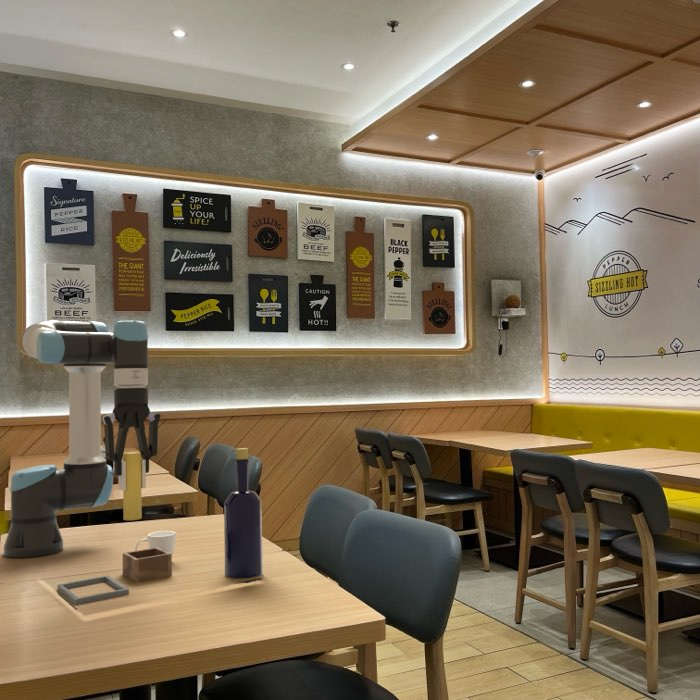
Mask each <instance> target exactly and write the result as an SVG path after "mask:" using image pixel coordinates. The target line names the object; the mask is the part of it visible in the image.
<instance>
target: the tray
mask: <svg viewBox="0 0 700 700" xmlns="http://www.w3.org/2000/svg"><path fill="white" fill-rule="evenodd" d="M99 583H106V584H108V585H110V586H112V587H113V588H114V589H116V590H112V591H107V592H102V593H96V594H91V595H86V596H81V597H78V596H77V595H75V594H74V593H73V592H72V591H71V590H70V589H72V588H77V587H79V588H80V587H84V586H87V585H88V586H89V585H93V584H99ZM56 587H57V590H58V591H59V592H60V593H59V592H57V595H58V596H59V597H61V598H62V599H63V600H64V601H65V602H66V603H68V605H69V606H71V607H72V608H73V609H74V610H78V608H77V607H75V606H76V605H81V604H86V603H90V602H91V603H93V602H96V601H97V602H98V601H102V600H107V599H111V598H112V599H113V598H116V597H122V596H126V595H129V594H130V589H129V588H127V587H126V586H125V585H124V584H122V583H120V582H119V581H117V580H115V579H114V578H112V577H111V576H109V575H105V576H104V575H103V576H98V577H93V578H92V577H91V578H87V579H82V580H77V581H71V582H66V583H65V582H64V583H59V584H57V586H56ZM65 597H66V598H67V599H68V600H67V599H66V598H65ZM69 601H70V602H69ZM71 602H72V603H73V604H74V605H75V606H74V605H73V604H72V603H71Z"/></svg>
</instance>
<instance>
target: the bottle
mask: <svg viewBox="0 0 700 700" xmlns="http://www.w3.org/2000/svg"><path fill="white" fill-rule="evenodd" d="M235 457H236V458H235V460H234V462H235V464H236V465H235V466H236V489H237V490H235V491H232V492H231V493H230V494H229V495H228V496H227V498H226V499H225V501H224V502H223V506H224V507H223V510H224V511H223V515H224V516H223V518H224V519H223V520H224V523H223V525H224V526H223V527H224V528H223V529H224V534H223V535H224V576H225V577H227V578H231V579H249V580H245V581H240V582H238V584H240V583H242V584H243V583H244V584H246V583H247V584H248V583H253V582H256V581H257V582H258V581H261V580H262V577H264V574H263V573H264V571H263V567H264V566H263V565H264V564H263V523H262V522H263V518H262V515H263V513H262V511H263V510H262V498H261V497H260V496H259V495H258V494H257V492H255V491H252V490H249V463H250V458H249V447H243V448H241V447H239V448H236V449H235ZM258 576H261V577H260V578H254V577H258ZM250 578H254V579H250Z"/></svg>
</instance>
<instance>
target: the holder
mask: <svg viewBox="0 0 700 700" xmlns="http://www.w3.org/2000/svg"><path fill="white" fill-rule="evenodd" d="M172 558H173V555H172V554H171V553H169V552H167V551H165V550H163V549H160V548H158V547H156V548H150V549H149V548H144V549H140V550H139V549H138V550H136V551H135V550H134V551H128V552H122V576H123V577H126V578H127V579H129V580H130V581H132V582H133V583H140V582H146V581H150V580H157V579H162V578H166V577H171V576H173V573H172V572H173V568H172V566H173V565H172V564H173V563H172V560H173V559H172Z"/></svg>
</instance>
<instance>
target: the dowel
mask: <svg viewBox="0 0 700 700" xmlns="http://www.w3.org/2000/svg"><path fill="white" fill-rule="evenodd" d="M141 459H142V458H141V452H140V451H139V452H138V451H136V452H135V451H133V452H124V453H123V459H122V461H126V490H123V491H122V492H123V494H122V495H123V498H122V500H123V501H122V503H123V505H122V507H123V508H122V510H123V511H122V512H123V515H122V516H123V520H124V521H135V520H136V521H137V520H142V518H143V517H142V515H143V512H142V511H143V510H142V507H143V506H142V502H143V501H142V488H141Z"/></svg>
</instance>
